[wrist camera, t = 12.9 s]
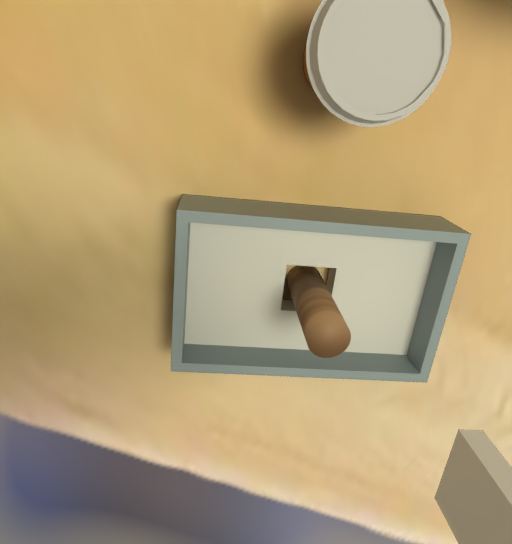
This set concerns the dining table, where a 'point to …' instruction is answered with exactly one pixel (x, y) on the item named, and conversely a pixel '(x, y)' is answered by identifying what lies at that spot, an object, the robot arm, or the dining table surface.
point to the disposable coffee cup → (376, 57)
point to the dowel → (318, 313)
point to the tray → (341, 284)
